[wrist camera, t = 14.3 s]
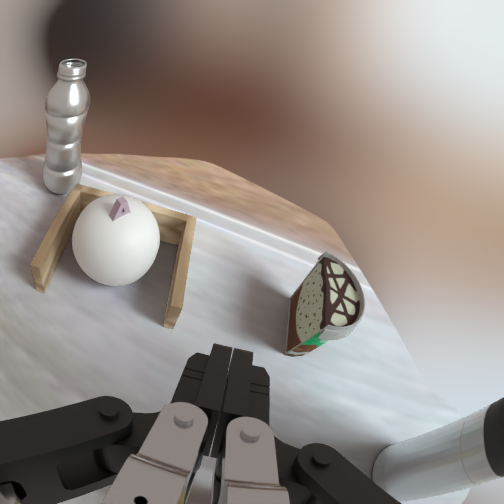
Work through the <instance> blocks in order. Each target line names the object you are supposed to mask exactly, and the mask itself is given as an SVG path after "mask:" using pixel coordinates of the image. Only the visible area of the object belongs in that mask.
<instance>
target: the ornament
mask: <svg viewBox="0 0 504 504" xmlns="http://www.w3.org/2000/svg"><path fill="white" fill-rule="evenodd" d="M159 243H160V233H159V227H158V224H157V221H156V219H155V217H154V215H153V214H152V212H151V211H150V210H149V209H148V208H147V207H146V206H145V205H144V204H143V203H142V202H140V201H139V200H137V199H135V198H133V197H131V196H127V195H123V194H110V195H105V196H102V197H100V198H97V199H96V200H94V201H92V202H91V203H90V204H89V205H88V206H86V208H85V209H84V210H83V211H82V212H81V214H80V216H79V217H78V219H77V221H76V224H75V226H74V230H73V235H72V248H73V253H74V256H75V258H76V260H77V262H78V264H79V266H80V267H81V269H82V270H83V271H84V272H85V273H86V274H87V275H88V276H89V277H91V278H92V279H93V280H95V281H97V282H99V283H101V284H104V285H108V286H125V285H128V284H131V283H133V282H135V281H137V280H138V279H140V278H141V277H142V276H143V275H144V274H145V273H146V272H147V271H148V270H149V268H150V267H151V265H152V264H153V262H154V260H155V258H156V255H157V252H158V249H159Z"/></svg>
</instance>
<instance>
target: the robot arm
mask: <svg viewBox="0 0 504 504" xmlns="http://www.w3.org/2000/svg"><path fill="white" fill-rule="evenodd" d="M231 353H232V347H227V346H223V345H219V344H215V343H214V344H213V347H212V351H211V354H210V356H209V355H205V354H201V353H196V354H194V355H193V356H191V357H190V358H189V359H188V361H187V363H186V366H185V369H184V371H183V373H182V376H181V378H180V381H179V383H178V386H177V388H176V391H175V393H174V396H173V398H172V401H171V403H170V404H168V405H166V406H165V407H164V408H163V409H162V410H161V411H160V412H156V413H133V412H132V410H131V408H130V406H129V405H128V404H127V403H126V402H124V401H123V400H121V399H118V398H115V397H111V396H101V397H97V398H94V399H90V400H87V401H83V402H79V403H76V404H72V405H68V406H65V407H61V408H57V409H53V410H49V411H45V412H41V413H37V414H32V415H28V416H24V417H19V418H14V419H10V420H5V421H0V504H57V503H60V502H63V501H66V500H69V499H73V498H75V497H78V496H81V495H84V494H87V493H90V492H92V491H95V490H98V489H100V488H103V487H106V486H108V485H111V484H112V486H111V488H110V489H109V491H108V493H107V495H106V496H105V498H104V500H103V502H102V503H101V504H186V502H187V499H188V497H189V494H190V491H191V488H192V485H193V482H194V479H195V476H196V473H197V470H198V469H199V468H200V465H201V461H202V457H203V455H204V456H209V452H210V448H211V444H212V441H213V437H214V433H215V437H214V442H213V447H212V452H211V457H214V458H217V461H216V466H215V470H214V473H213V478H212V491H211V504H401V503H400V502H403V501H409V500H416V499H422V498H427V497H432V496H437V495H442V494H446V493H451V492H455V491H459V490H463V489H466V488H470V487H473V486H477V485H480V484H483V483H486V482H490V481H493V480H496V479H499V478H501V477H504V398H502V399H500V400H498V401H497V402H494V403H493V404H491V405H489V406H487V407H485V408H483V409H481V410H479V411H477V412H475V413H473V414H471V415H469V416H467V417H464V418H462V419H460V420H458V421H455V422H453V423H451V424H448V425H446V426H444V427H441V428H439V429H436V430H433V431H431V432H428V433H426V434H423V435H420V436H417V437H415V438H412V439H409V440H406V441H403V442H400V443H397V444H393V445H390V446H388V447H386V448H385V449H383V450H382V451H381V452H380V454H379V455H378V457H377V459H376V460H375V463H374V467H373V481H372V480H370V479H369V478H368V477H367V476H366V475H364V474H363V473H362V472H361V471H360V470H358V469H357V468H356V467H355V466H354V465H352V464H351V463H350V462H349V461H348V460H346V459H345V458H344V457H343V456H342V455H341V454H339V453H338V452H337V451H336V450H335V449H333V448H331V447H329V446H327V445H324V444H317V443H314V444H308V445H306V446H304V447H303V448H302V449H301V450H300V449H298V448H295V447H292V446H290V445H287V444H285V443H283V442H281V441H280V440H279V439H277V438H276V437H275V436H274V434H273V431H272V429H271V428H270V427H269V390H270V388H269V386H270V377H269V375H268V373H267V372H266V370H265V368H263V367H258V366H253V365H252V360H253V352H250V351H245V350H241V349H236V348H234V350H233V354H232V358H231ZM230 358H231V363H230ZM229 363H230V367H229ZM228 368H229V371H228ZM227 373H228V375H227ZM226 378H227V379H226ZM217 421H218V422H217ZM216 425H217V427H216ZM215 429H216V432H215Z"/></svg>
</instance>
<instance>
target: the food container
mask: <svg viewBox="0 0 504 504" xmlns="http://www.w3.org/2000/svg"><path fill="white" fill-rule="evenodd" d="M318 259H319V261H318V262H317V264H316V265H315V266H314V268H313V269H312V270H311V271H310V273H309V274H308V275H307V277H306V278H305V279H304V281H303V282H302V283H301V284H300V286H299V287H298V288H297V290H296V291H295V292H294V293H293V295H292V296H291V297H290V299H289V310H288V322H287V335H286V346H285V355H287V356H292V357H293V356H303V355H305V354H307V353H309V352H311V351H312V350H314V349H316V348H317V347H319V346H321V345H322V344H324V343H326V342H328V341H329V340H338V339H341V338H344V337H346V336H347V335H349V334H350V333H351V332H352V331H353V330H354V328H355V327H356V326H357V324H358V323H359V321H360V320H361V317H362V315H363V312H364V307H365V299H364V294H363V291H362V288H361V286H360V283H359V281H358V280H357V278H356V276H355V275H354V274H353V272H352V271H351V270H350V269H349V268H348V267H347V266H346V265H345V264H344V263H343V262H342V261H341V260H340V259H338V258H337V257H335V256H334V255H332V254H331V253H329V252H327V251H326V252H325V253H323V254H322V255H321V256H320V257H319V258H318Z"/></svg>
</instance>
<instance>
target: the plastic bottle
mask: <svg viewBox="0 0 504 504" xmlns="http://www.w3.org/2000/svg"><path fill="white" fill-rule="evenodd" d="M85 70H86V62H85V61H83V60H79V59H68V60H64V61H62V62H61V63H60V65H59V71H58V73H57V78H58V79H59V80H58V81H57V83H56V84H55V85H54V86H53V87H52V89H51V90H50V91H49V93H48V95H47V98H46V100H45V112H46V125H47V146H46V156H45V162H44V167H43V179H44V183H45V186H46V187H47V188H48V189H49V190H50V191H51V192H53V193H56V194H65V193H69V192H71V191H72V189H73V188H74V186H75V184H79V183H80V179H81V175H82V163H81V152H80V150H81V149H80V148H81V136H82V131H83V125H84V122H85V118H86V115H87V111H88V108H89V104H90V94H89V92H88V89H87V87H86V85H85V83H84V82H83V78H84V77H85V73H86V72H85Z"/></svg>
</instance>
